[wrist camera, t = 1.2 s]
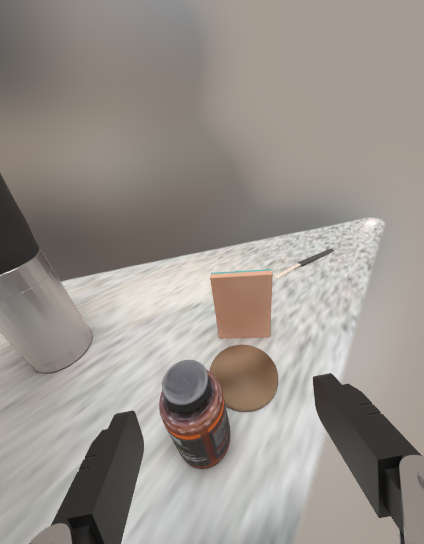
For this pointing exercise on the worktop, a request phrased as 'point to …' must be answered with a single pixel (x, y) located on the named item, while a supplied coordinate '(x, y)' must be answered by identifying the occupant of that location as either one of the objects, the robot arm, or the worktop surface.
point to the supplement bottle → (195, 413)
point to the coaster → (245, 377)
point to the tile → (242, 303)
